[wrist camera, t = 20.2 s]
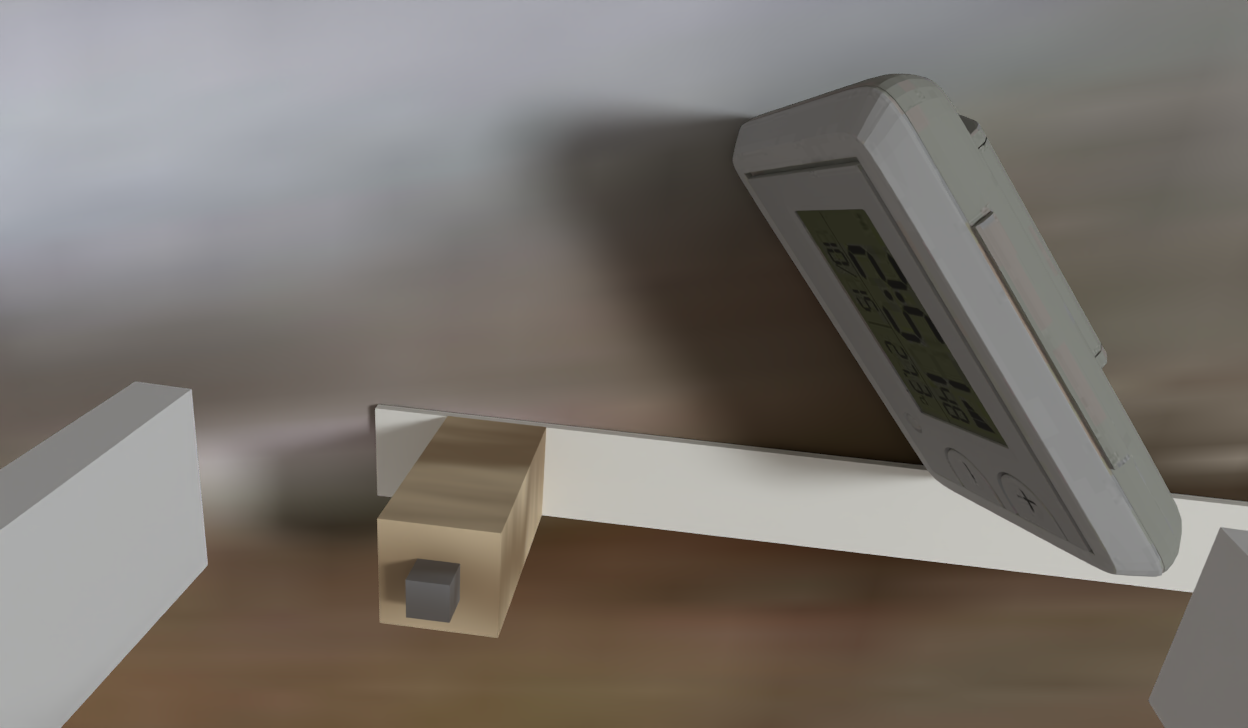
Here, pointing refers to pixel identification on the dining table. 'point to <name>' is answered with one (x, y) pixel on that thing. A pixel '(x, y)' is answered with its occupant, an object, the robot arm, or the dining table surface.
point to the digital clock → (959, 314)
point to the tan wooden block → (462, 527)
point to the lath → (790, 499)
